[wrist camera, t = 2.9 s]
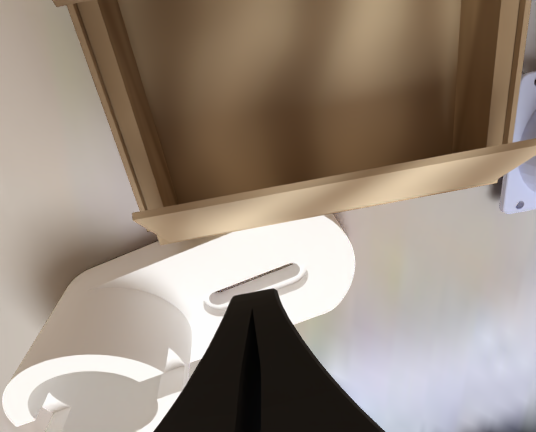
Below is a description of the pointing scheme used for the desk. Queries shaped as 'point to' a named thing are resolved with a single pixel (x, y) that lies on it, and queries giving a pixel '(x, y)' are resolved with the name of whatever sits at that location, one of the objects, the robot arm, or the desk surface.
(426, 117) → the carton
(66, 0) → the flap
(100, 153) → the desk surface
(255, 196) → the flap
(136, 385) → the bracket
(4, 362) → the desk surface
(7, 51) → the desk surface
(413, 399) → the desk surface
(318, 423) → the robot arm
